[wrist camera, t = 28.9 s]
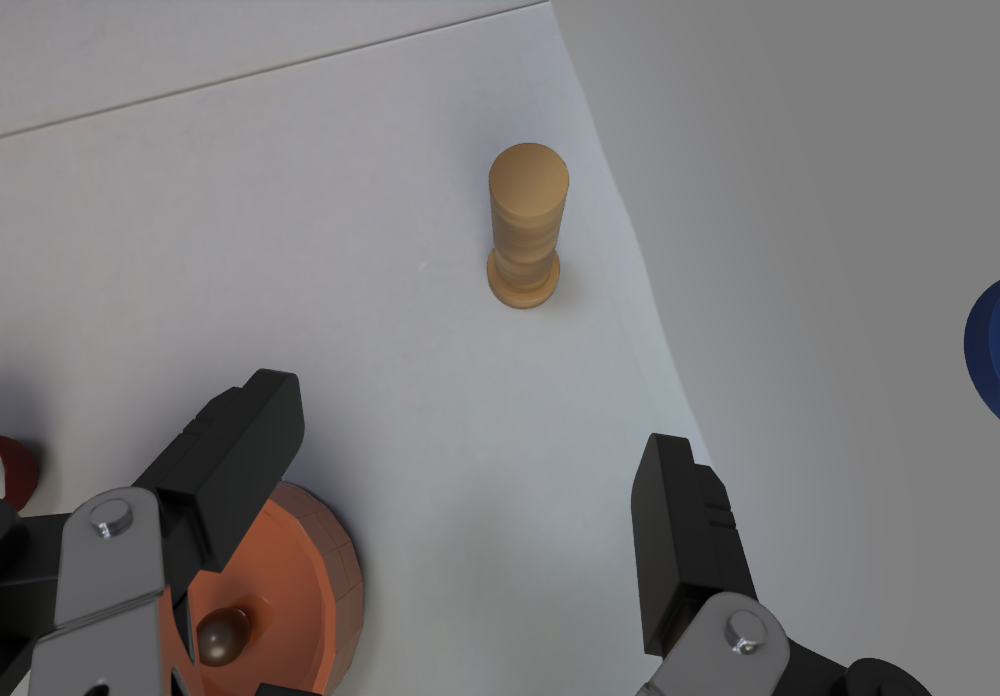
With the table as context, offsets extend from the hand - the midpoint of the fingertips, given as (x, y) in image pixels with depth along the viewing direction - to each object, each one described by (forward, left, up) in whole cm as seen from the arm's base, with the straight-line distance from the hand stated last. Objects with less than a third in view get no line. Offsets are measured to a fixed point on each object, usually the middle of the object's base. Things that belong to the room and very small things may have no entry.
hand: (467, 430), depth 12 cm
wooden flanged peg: (+5, -11, -23) cm, 25 cm away
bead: (+7, +17, -20) cm, 28 cm away
